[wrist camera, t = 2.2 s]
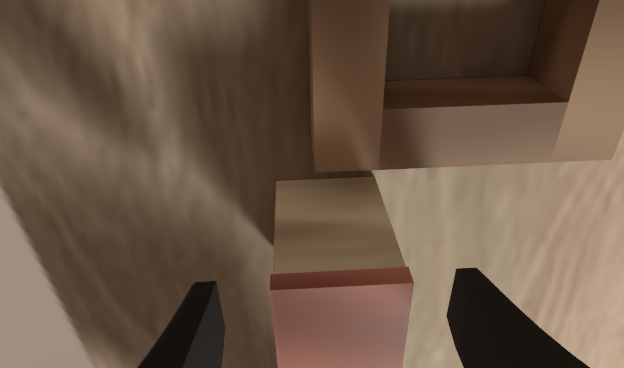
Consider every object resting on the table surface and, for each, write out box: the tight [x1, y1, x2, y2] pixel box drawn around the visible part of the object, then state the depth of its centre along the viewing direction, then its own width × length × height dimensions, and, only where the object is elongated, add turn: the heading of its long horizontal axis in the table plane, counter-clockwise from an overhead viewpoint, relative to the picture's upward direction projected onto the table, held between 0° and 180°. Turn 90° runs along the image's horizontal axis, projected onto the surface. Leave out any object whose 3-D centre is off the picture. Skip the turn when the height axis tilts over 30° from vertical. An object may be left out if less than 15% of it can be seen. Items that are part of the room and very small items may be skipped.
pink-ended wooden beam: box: [270, 177, 414, 368], centre depth 14 cm, size 4×4×6 cm
